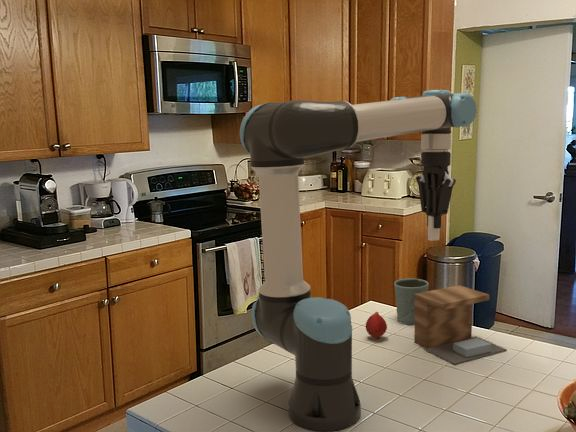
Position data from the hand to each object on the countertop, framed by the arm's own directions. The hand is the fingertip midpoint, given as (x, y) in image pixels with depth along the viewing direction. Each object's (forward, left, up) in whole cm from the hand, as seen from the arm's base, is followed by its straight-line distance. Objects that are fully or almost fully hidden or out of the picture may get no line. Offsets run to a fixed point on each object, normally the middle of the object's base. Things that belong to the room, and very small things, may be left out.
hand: (433, 239), depth 152 cm
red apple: (-11, +10, -29) cm, 33 cm away
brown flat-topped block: (+4, -3, -29) cm, 29 cm away
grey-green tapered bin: (+7, +17, -29) cm, 34 cm away
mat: (+4, -9, -29) cm, 30 cm away
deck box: (+4, -11, -26) cm, 28 cm away
